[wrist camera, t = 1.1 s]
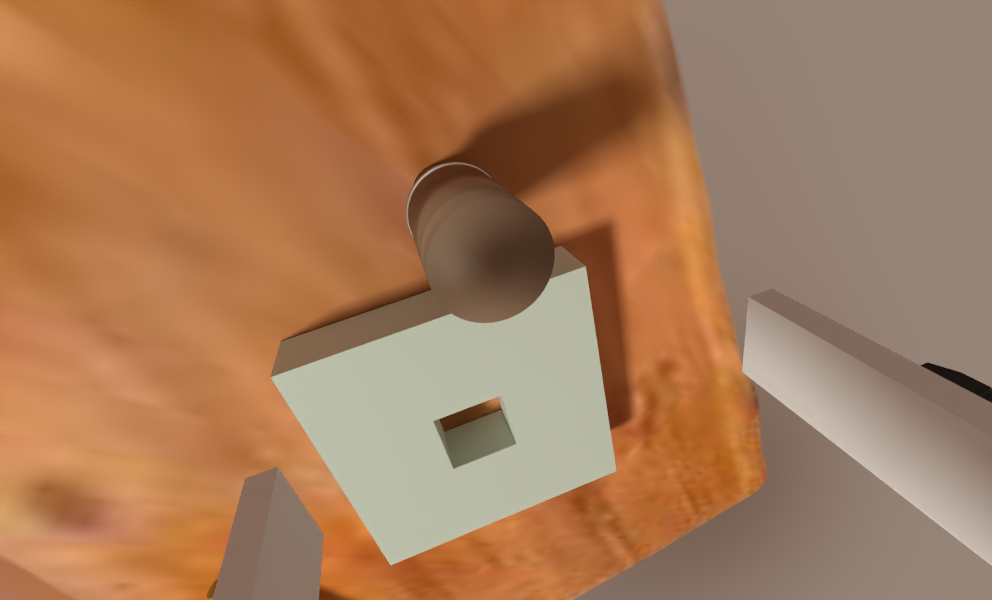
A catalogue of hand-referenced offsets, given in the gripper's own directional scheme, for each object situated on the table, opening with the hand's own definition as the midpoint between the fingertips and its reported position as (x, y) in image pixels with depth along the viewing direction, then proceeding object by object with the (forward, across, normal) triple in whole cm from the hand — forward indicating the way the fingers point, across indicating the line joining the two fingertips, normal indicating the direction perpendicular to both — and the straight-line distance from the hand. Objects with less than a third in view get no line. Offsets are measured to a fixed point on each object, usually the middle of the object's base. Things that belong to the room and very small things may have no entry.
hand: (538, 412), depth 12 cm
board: (+19, -2, -15) cm, 24 cm away
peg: (+19, +1, +1) cm, 19 cm away
